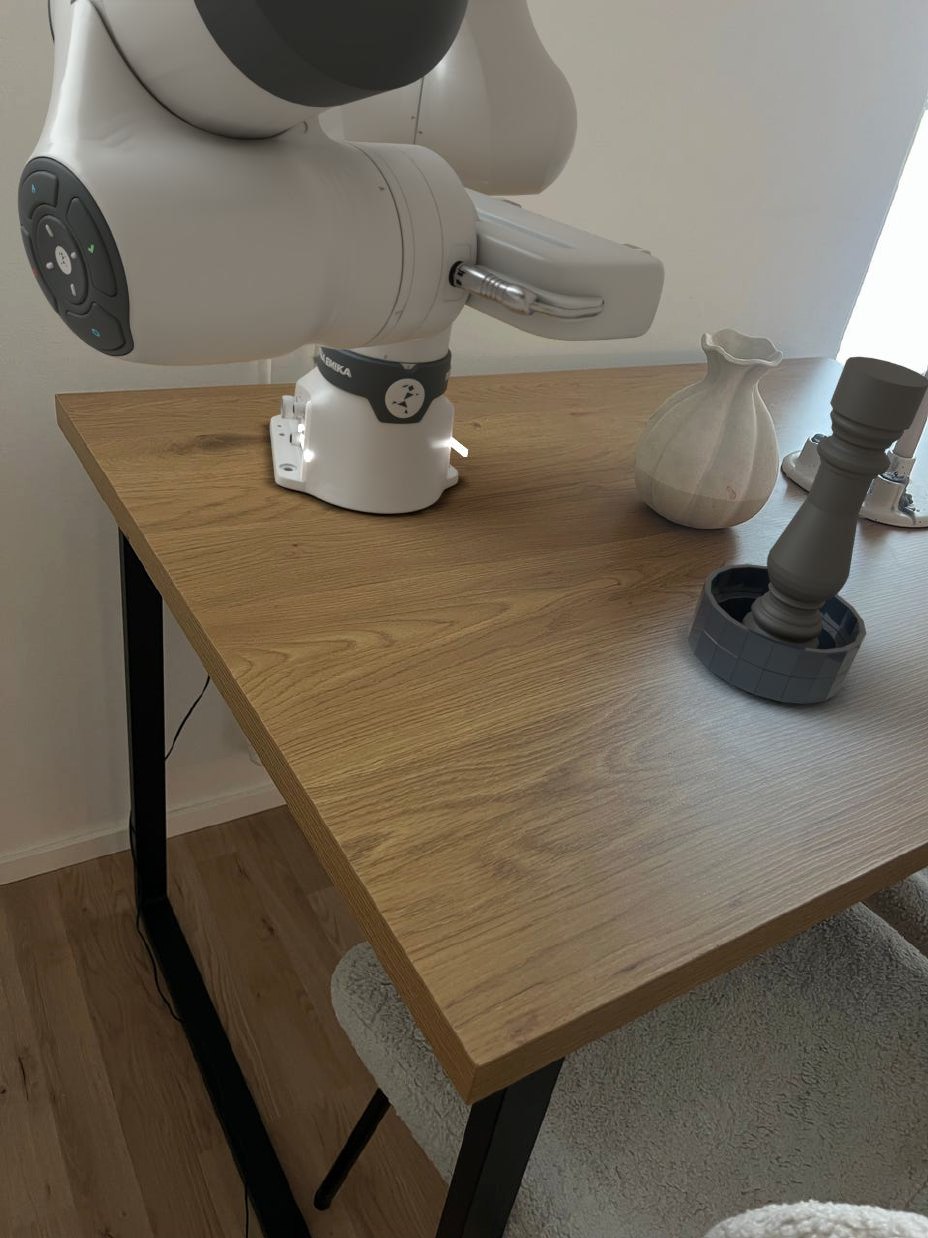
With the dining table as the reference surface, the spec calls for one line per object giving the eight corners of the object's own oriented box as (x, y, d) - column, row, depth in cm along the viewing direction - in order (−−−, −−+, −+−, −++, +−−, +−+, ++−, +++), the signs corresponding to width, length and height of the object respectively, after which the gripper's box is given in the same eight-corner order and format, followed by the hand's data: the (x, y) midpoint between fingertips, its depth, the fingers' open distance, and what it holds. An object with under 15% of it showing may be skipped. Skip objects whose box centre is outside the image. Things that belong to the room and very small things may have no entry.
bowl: (657, 623, 86) (675, 568, 83) (775, 612, 92) (796, 560, 89) (746, 718, 77) (770, 659, 74) (873, 700, 82) (900, 644, 79)
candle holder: (820, 682, 82) (953, 388, 68) (762, 691, 79) (888, 388, 66) (772, 639, 86) (887, 356, 73) (715, 646, 84) (824, 354, 70)
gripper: (566, 239, 40) (746, 232, 49) (265, 126, 51) (458, 137, 60) (533, 390, 43) (707, 357, 53) (258, 253, 54) (441, 245, 64)
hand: (572, 239), depth 56 cm, fingers open, 8 cm apart
